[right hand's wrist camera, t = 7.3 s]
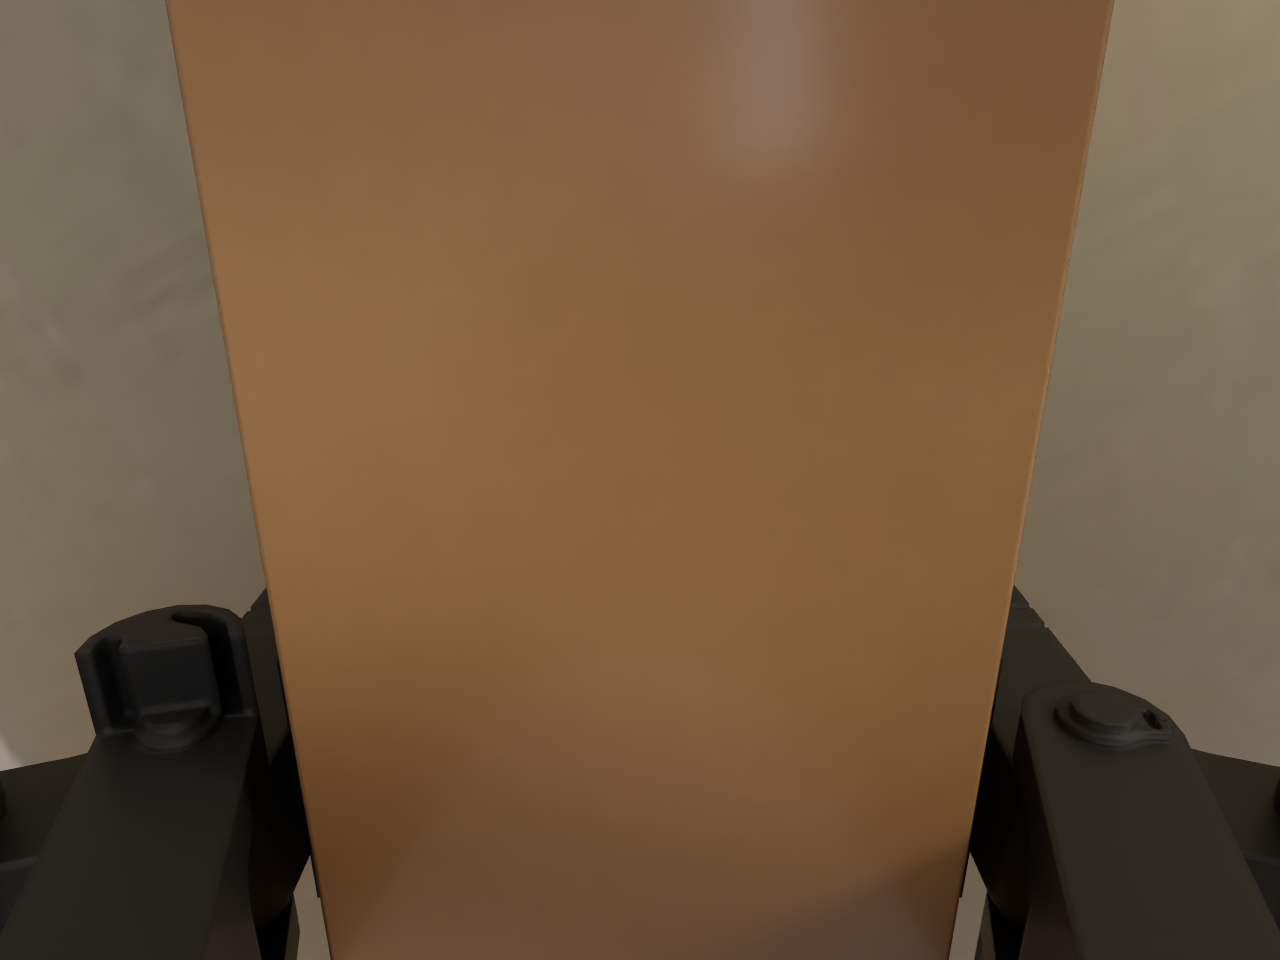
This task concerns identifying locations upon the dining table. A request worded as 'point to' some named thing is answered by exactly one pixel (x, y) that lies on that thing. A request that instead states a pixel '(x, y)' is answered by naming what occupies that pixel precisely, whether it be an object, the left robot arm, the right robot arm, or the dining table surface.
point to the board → (639, 446)
